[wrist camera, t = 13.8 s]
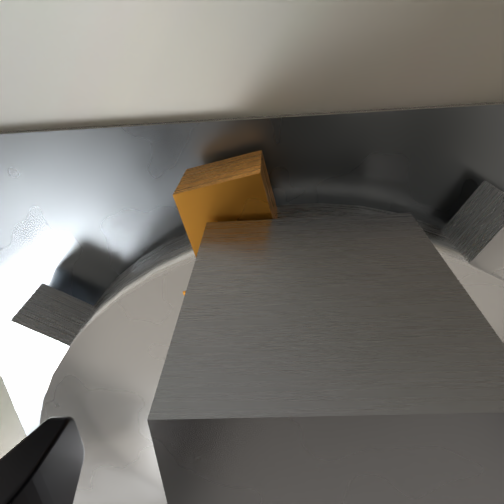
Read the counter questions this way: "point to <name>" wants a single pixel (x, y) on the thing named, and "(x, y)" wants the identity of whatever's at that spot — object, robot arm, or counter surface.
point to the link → (329, 371)
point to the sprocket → (167, 311)
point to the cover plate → (204, 152)
